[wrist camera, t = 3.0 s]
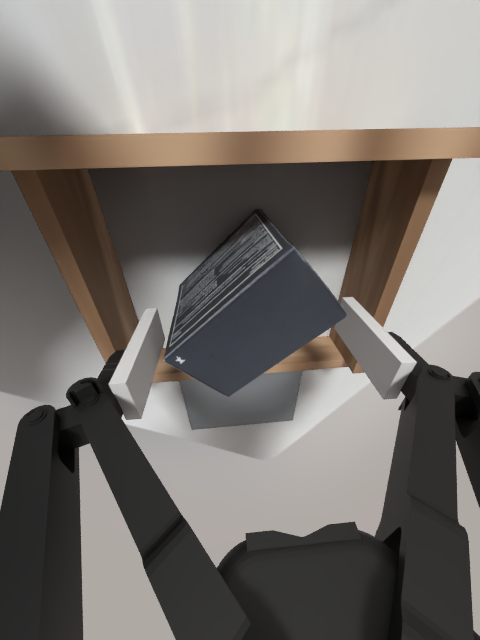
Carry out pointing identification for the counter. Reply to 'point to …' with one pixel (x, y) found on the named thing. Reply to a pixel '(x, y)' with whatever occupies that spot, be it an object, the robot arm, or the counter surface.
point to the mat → (243, 401)
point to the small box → (247, 308)
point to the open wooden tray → (223, 149)
